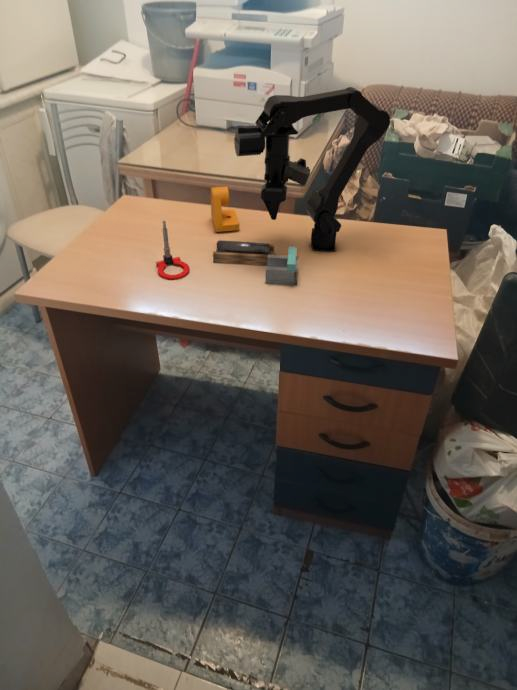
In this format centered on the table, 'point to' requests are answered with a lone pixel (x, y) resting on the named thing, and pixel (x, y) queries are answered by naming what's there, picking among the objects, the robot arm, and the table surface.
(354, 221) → the table surface
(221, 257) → the rail
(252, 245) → the rod
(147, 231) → the table surface
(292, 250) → the teal rectangular block
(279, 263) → the socket
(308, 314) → the table surface
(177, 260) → the tow hook
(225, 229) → the bracket
